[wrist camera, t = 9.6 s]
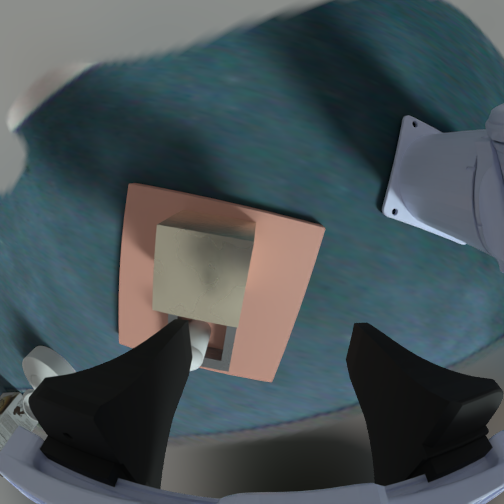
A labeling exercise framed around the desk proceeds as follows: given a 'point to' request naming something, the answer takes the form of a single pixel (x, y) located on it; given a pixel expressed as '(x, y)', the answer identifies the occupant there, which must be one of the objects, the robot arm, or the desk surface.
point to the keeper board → (257, 286)
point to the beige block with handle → (203, 273)
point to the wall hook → (42, 370)
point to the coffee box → (12, 416)
